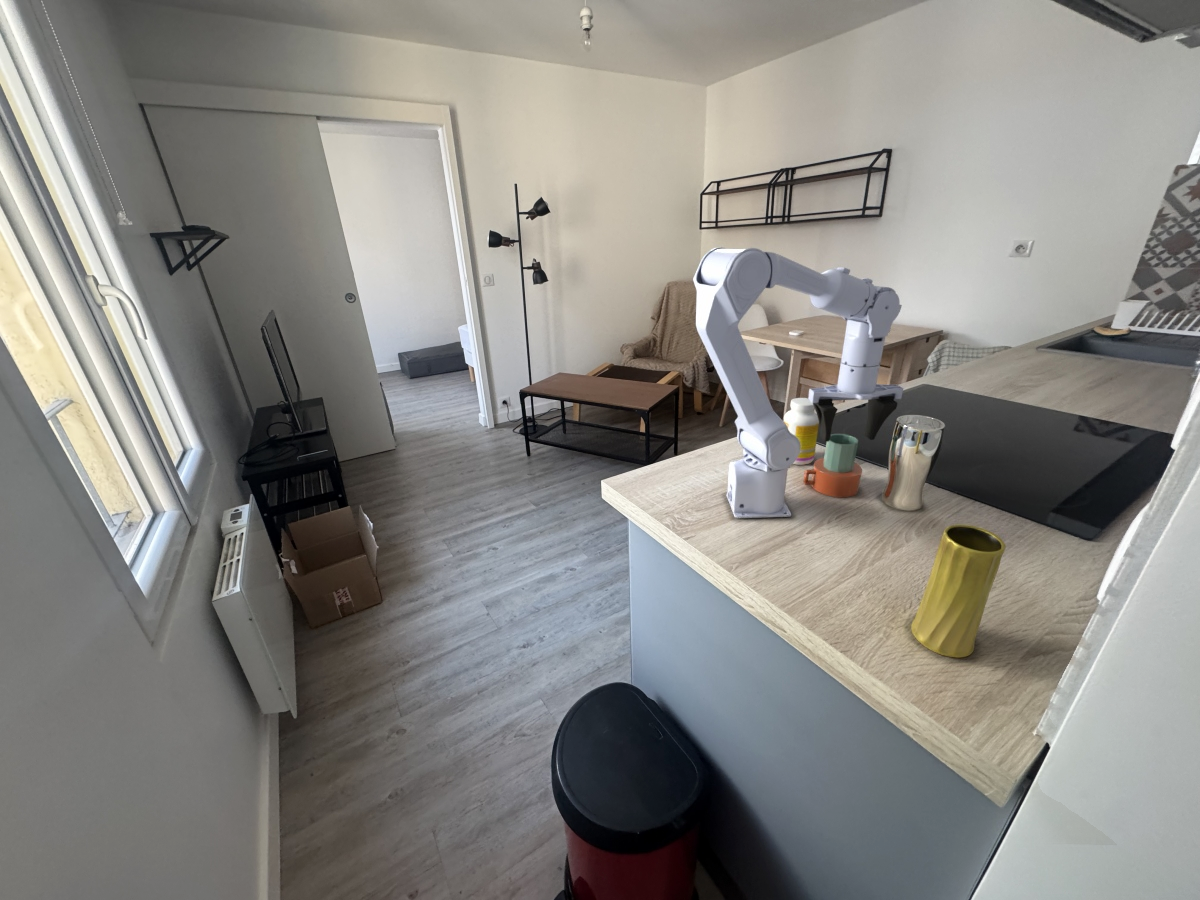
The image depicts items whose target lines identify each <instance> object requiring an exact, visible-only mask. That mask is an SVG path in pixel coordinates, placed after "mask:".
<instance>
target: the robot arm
mask: <svg viewBox="0 0 1200 900" xmlns="http://www.w3.org/2000/svg"><path fill="white" fill-rule="evenodd" d="M850 273H851V269H849V268H847V267H841V266H838V267H837V268H830V269H827V270H825V271H823V272H818V271H816V270H814V269H811V268H809V267H807V266H806V265H803V264H801V263H799V262H796V261H795V260H792V259H790V258H787V257H785V256H783V255H781V254H779V253H776V252H773V251H763V250H762V249H759V248H756V247H748V248H726V247H722V246H721V247H719V246H718V247H714V248H712V249H710V250H708V251H707V252H706V253H705V254H704V255H703V257H702V258H701V260H700V262H699V264H698V266H697V269H696V271H695V274H694V276H693V278H692V281H693V284H694V286H695V290H696V303H695V304H696V306H695V327H696V331H697V333H698V335H699V337H700V340H701V341H702V344H703V345H704V348H705V350H706V352H707V354H708V355H709V358H710V360H711V362H712V364H713V366H714V369H715V371H716V373H717V375H718V377H719V379H720V381H721V383H722V386H723V388H724V390H725V392H726V394H727V396H728V398H729V400H730V402H731V405H732V407H733V409H734V411H735V414H736V416H737V417H736V419H735V420H734V424H735V427H736V430H737V435H736V437H737V438H736V439H737V442H738V445H739V446H740V447H741V448H743V449H742V455H743V457H742V458H741V459H737V460H733V461H730V462H729V464H728V471H727V472H728V473H727V488H726V489H727V492H726V493H725V495H726V498H727V501H728V503H729V506H730V509H731V511H732V514H733V517H734V518H736V519H753V518H783V517H784V518H788V517H791V516H792V512H791V510H790V509H789V507H788V506H787V503H786V502H785V495H786V494H785V493H786V487H787V480H788V479H787V478H788V470H789V469H790V468H791V466H792V465H794V464H793V463H794V462H795V461H796V459H797V458H798V456H799V453H800V449H801V444H800V441H799V439H798V438H797V437H796V436H795V435H793V434H792V433H790V431H789V430H788V427H787V425H786V424H785V423H784V420H783V419H781V417H780V416H779V415H778V414H777V413H776V412H775V410H774V409H773V407H772V405H771V401H770V399H769V397H768V395H767V393H766V390H765V387H764V385H763V383H762V380H761V378H760V376H759V374H758V372H757V371H758V370H757V369H756V367H755V364H754V361H753V360H752V357H751V355H750V352H749V350H748V348H747V345H746V343H745V340H744V338H743V336H742V334H741V331H740V329H739V324H740V322H741V320H742V319H743V318H744V317H745V315H746V314H747V312H748V311H749V310H750V308H751V307H752V306H753V305H754V303H755V302H756V301H757V299H759V296H761V295H762V293H763V292H764V290H765V289H773V288H774V287H775V286H779V287H782V288H785V289H789V290H792V291H795V292H798V293H802V294H804V295H807V296H809V300H810V303H811V304H812V306H813V307H815V308H816V309H819V310H822V311H826V312H829V313H831V314H834V315H837V316H840V317H841V318H842V319H843V320H844V321H845V322H846V326H845V334H844V341H843V346H842V353H841V359H840V365H839V366H840V367H839V372H838V378H837V383H836V384H833V385H828V386H823V387H815V388H809V390H808V397H807V398H808V399H809V400H810V401H811V402H812V403H813V405H814V408H815V410H814V411H815V413H816V414H817V416H818V420H819V432H820V438H821V440H823V442H828V441H829V440H830V436H831V435H832V428H833V423H834V420H835V417H836V414H837V412H838V408H837V407H836V406H835V405H834V404H835V403H834V402H835V401H855V400H856V401H857V400H861V401H867V418H866V422H865V427H864V436H865V437H866V438H867V439H869V440H870V441H874V440H875V439H876V436H877V435H878V433H879V431H880V429H881V427H882V426H883V425H884V423H885V421H886V420H887V419H888V418H889V416H890V415H891V414H892V413H893V412H894V411H896V409H897V407H898V405H899V404H898V403H899V402H897V401H896V400H902V397H903V392H904V387H902V386H901V385H899V384H882V383H881V384H879V383H878V378H879V373H880V367H881V362H882V356H883V351H884V345H885V342H886V337H888V335H889V333H891V328H892V325H893V323H894V321H895V320H896V319H897V317H898V316H899V314H900V313H901V309H902V306H903V305H902V304H900V302H901V301H900V296H899V294H898V293H897V292H896V290H895V289H894V288H892V287H888V286H880V285H879V286H878V285H874V284H873V281H874V280H873V279H871V278H868V277H862V278H859V277H857V276H854V275H851V274H850Z"/></svg>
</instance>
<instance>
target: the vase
mask: <svg viewBox="0 0 1200 900" xmlns="http://www.w3.org/2000/svg"><path fill="white" fill-rule="evenodd" d="M938 545H939V546H938V548H937V551H936V554H935V558H934V561H933V565H932V568H931V571H930V573H929V578H928V580H927V583H926V586H925V589H924V592H923V596H922V598H921V600H920V603H919V605H918V609H917V612H916V614H915V617H914V619H913V620H912V622H911V625H910V628H911V629H910V630H911V633H912V635H913V636H914V638H915V639H916V640H917V641H918V642H919V643H920V644H921V645H922V646H924V647H925V648H926V649H928V650H930V651H931V652H934V653H936V654H939V655H941V656H944V657H949V658H956V659H957V658H965V657H968V656H970V655H971V654H972V653H973V652H974V650H975V641H976V637H977V634H978V631H979V628H980V624H981V621H982V618H983V615H984V612H985V607H986V605H987V602H988V600H989V595H990V593H991V590H992V587H993V585H994V582H995V579H996V576H997V574H998V571H999V568H1000V565H1001V561H1002V557H1003V555H1004V553H1005V551H1006V543H1005V542H1004V541H1003V539H1002V538H1001V537H1000V536H998V535H997V534H995V533H994V532H992V531H990V530H987V529H985V528H983V527H980V526H975V525H971V524H951V525H948V526H947V527H946V528H945V529H944V530H943V533H942V536H941V538H940V542H939V544H938Z"/></svg>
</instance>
